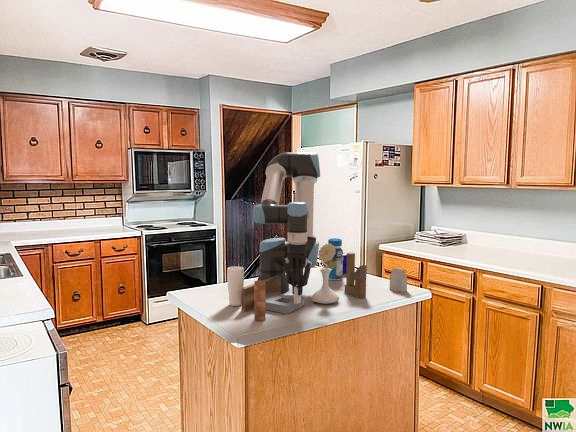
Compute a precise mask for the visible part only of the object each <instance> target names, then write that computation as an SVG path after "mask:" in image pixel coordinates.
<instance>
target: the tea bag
mask: <svg viewBox="0 0 576 432" xmlns="http://www.w3.org/2000/svg"><path fill="white" fill-rule="evenodd" d="M389 290H390V291H394V292H398V293H405V292H407V291H408V276H407V274H406V270H405V269H401V268H398V267H394V266H393V267H392V269H391V273H390V276H389Z"/></svg>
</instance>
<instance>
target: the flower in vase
mask: <svg viewBox="0 0 576 432" xmlns="http://www.w3.org/2000/svg"><path fill="white" fill-rule="evenodd" d="M335 251H336V250H335V247H334V246H333V245H332V244H330V243H329V244H328V243H325V244H323V245H322V246H321V247H319V250H318V259H319V260H320V262H321V264H324V265H326V266H327V264H326V263H324V262H326V261H327V260H328V261H329V260H330V263H329V265H330V268H336V265H335V263H334V262H332V263H331V259H332V257H334V255H335V254H336V252H335ZM329 265H328V267H329ZM328 267H327V268H323V267H322V268H319V270H320V272H321V275H322V286H321V287H320V288H319V289H318V290H316V291H315V292H314V293H313V294H312V295H311V300H312V301H313V302H316V303H317V304H325V305H326V304H330V305H331V304H333V303H337V302H339V300H340V297H339V295H338V294H337V293H336V292H335V291H334V290H333V289H331V288H330V286H329V279H328V278H329V274H330V272H331V270H332V269H330V268H328Z"/></svg>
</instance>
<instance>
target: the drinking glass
mask: <svg viewBox="0 0 576 432" xmlns="http://www.w3.org/2000/svg"><path fill="white" fill-rule="evenodd" d="M226 269H227V270H226V278H227V279H226V280H227V281H226V283H227V291H228V304H229V306H232V307H239V306H241V288H243V287H244V286H245V285H244V283H245V267H243V266H229V267H227V268H226Z"/></svg>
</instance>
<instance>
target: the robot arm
mask: <svg viewBox="0 0 576 432" xmlns="http://www.w3.org/2000/svg"><path fill="white" fill-rule="evenodd" d="M319 159H320V158H319V154H318V153H316V152H313V151H312V152H310V151H306V152H305V151H302V152H297V151H296V152H295V151H293V152H289V151H287V152H281V153H279V154H277V155H276V156H274V157H273V158H272V159H271V160H270V161H269V162H268V164H267V166H266V168H265V176H266V179H265V183H264V187H263V192H262V195H261V196H262V197H261V200H260V201H261V202H260V203H259V204H255V205H254V207H253V209H252V212H253V213H252V217H253V221H254V222H253V223H256V224H263V225H264V224H282V225H285V224H287V240H286V238H285V237H275V238H274V237H273V238H268V239H264V240H262V241H261V242H260V243H259V252H258V253H259V274H258V276H257V280H256V281H258V280H262V281H263V280H266V279H269V278H272V277H275V276H281V294H282V293H286V292H289V290H290V285H291V287H292V290H291V293H292V295H293V297H294V304H298V303H300V302H301V298H302V297H301V296H302V295H303V294H304V293H303V287H305V286H307V285H308V282H309V277H310V274H311V270H312V269H311V268H314V267H316V265H317V263H318V258H319V255H318V254H319V250H320V242H319V241H317V237H316V236H315V235H314V203H315V202H314V199H315V198H314V195H315V194H314V193H315V191H314V190H315V184H316V183H317V182H318V179H319V178H320V177H321V169H320V160H319ZM286 178H292V182H293V183H294V184H295V188H294V189H295V190H294V201H292V202H288V204H280V200H281V194H282V190H283V189H282V188H283V182H284V180H285V179H286Z"/></svg>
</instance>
